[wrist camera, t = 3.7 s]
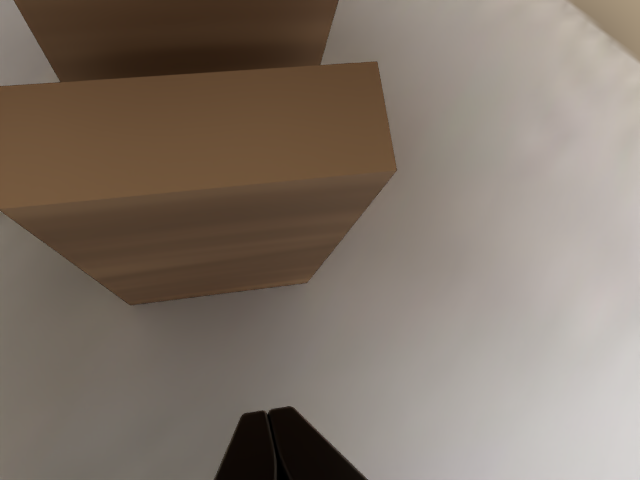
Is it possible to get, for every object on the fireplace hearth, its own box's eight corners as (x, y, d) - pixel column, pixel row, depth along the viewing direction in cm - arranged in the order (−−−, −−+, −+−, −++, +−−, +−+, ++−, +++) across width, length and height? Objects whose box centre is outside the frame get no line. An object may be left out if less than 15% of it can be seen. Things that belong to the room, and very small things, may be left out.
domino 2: (290, 169, 19) (355, -60, 9) (119, 185, 18) (-13, -47, 8) (283, 120, 19) (338, -151, 9) (115, 133, 18) (-18, -150, 8)
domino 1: (306, 282, 18) (396, 170, 8) (130, 305, 17) (-2, 209, 7) (299, 229, 18) (377, 61, 9) (125, 249, 17) (-8, 86, 8)
